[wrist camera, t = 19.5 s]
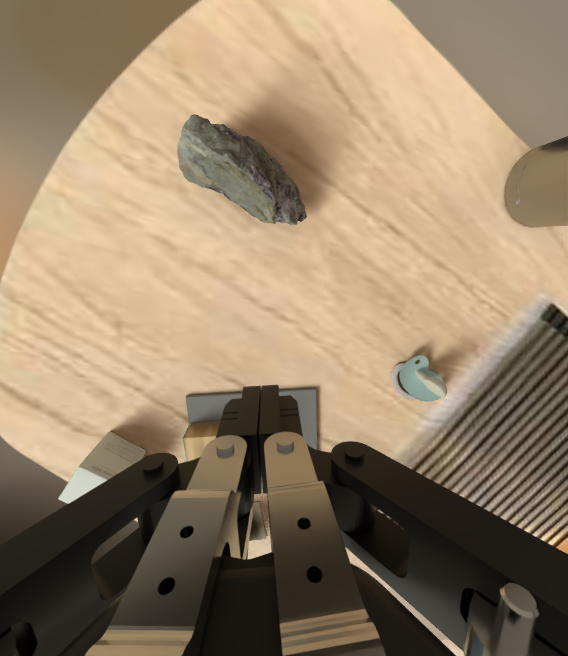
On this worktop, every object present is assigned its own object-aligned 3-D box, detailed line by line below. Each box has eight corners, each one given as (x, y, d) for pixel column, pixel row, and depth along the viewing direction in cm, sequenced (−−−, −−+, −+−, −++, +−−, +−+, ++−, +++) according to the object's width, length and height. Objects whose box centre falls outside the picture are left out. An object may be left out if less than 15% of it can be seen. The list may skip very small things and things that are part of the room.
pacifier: (407, 405, 44) (442, 382, 43) (427, 431, 38) (468, 405, 37) (379, 370, 43) (415, 345, 42) (396, 391, 37) (438, 362, 36)
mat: (315, 387, 43) (316, 389, 42) (316, 481, 47) (317, 484, 46) (186, 395, 42) (185, 397, 42) (200, 489, 46) (199, 492, 46)
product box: (148, 449, 44) (125, 488, 37) (128, 479, 45) (102, 522, 38) (109, 429, 43) (78, 465, 36) (90, 460, 44) (56, 500, 37)
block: (268, 432, 40) (182, 438, 39) (272, 483, 42) (190, 489, 41) (268, 417, 43) (189, 423, 43) (272, 465, 45) (196, 470, 45)
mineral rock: (309, 218, 37) (322, 209, 27) (231, 259, 38) (218, 264, 28) (258, 108, 34) (254, 52, 24) (175, 156, 34) (138, 121, 25)
